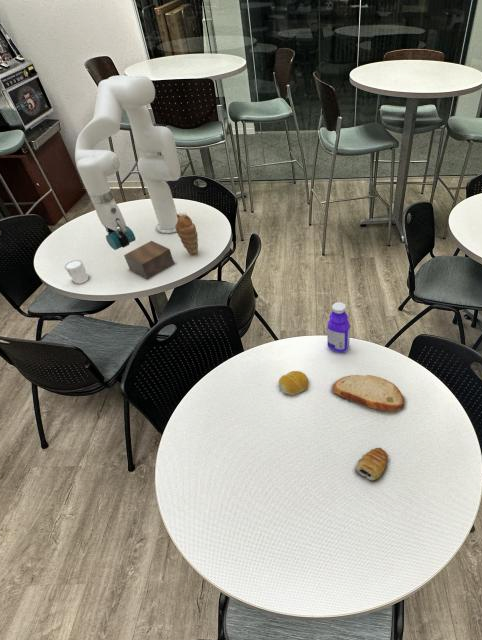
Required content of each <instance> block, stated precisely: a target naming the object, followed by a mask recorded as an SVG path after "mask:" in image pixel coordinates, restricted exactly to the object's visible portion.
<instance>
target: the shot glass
mask: <svg viewBox="0 0 482 640" xmlns="http://www.w3.org/2000/svg"><path fill="white" fill-rule="evenodd" d="M64 269H65V270H66V272H67V273H68V275H69V276H70V278H71V279H72V281H73V282H74V283H75V284H83V283H85V282H87V281H88V280H89V275H88V272H87V270H86V268H85V265H84V262H83V261H82V260H80V259H76V260H75V259H74V260H71V261H69V262H67V263H66V264H64Z"/></svg>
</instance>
